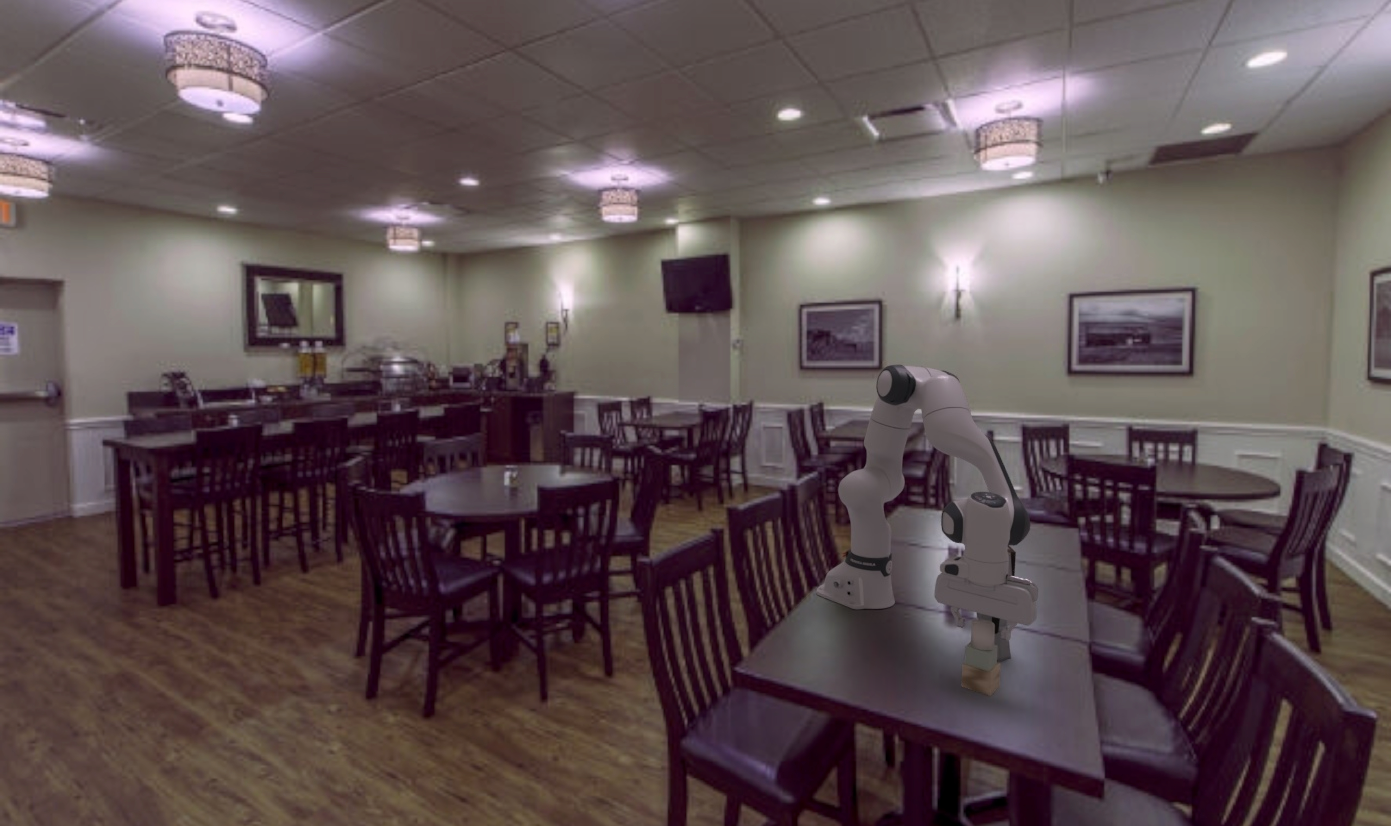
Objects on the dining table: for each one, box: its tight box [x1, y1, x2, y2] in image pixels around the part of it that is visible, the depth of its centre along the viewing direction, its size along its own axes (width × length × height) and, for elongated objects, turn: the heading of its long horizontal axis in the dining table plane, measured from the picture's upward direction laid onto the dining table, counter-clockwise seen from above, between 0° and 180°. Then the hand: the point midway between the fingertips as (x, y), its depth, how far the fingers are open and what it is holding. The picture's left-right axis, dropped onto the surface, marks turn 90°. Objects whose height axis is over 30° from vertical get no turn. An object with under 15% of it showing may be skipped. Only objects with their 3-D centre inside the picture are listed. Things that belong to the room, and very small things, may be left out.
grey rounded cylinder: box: [970, 618, 995, 651], centre depth 141 cm, size 5×5×5 cm
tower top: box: [964, 641, 998, 672], centre depth 142 cm, size 5×5×4 cm
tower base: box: [960, 661, 1002, 697], centre depth 142 cm, size 6×6×5 cm
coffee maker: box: [976, 612, 1012, 662], centre depth 156 cm, size 15×9×18 cm, turn 159°
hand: (982, 632), depth 141 cm, fingers open, 8 cm apart
